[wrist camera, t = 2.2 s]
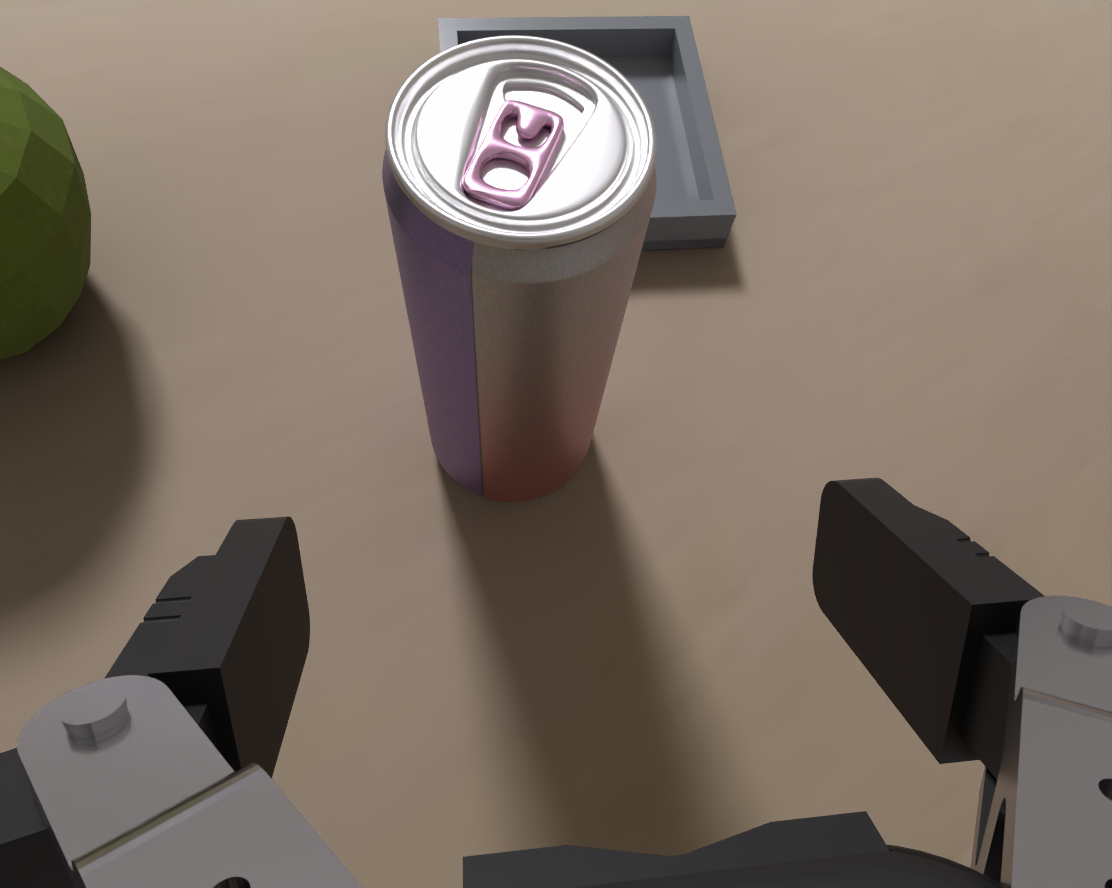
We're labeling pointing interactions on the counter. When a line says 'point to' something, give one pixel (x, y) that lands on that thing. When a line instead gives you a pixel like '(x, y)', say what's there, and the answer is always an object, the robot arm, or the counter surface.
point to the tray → (673, 101)
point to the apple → (38, 219)
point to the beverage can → (516, 249)
